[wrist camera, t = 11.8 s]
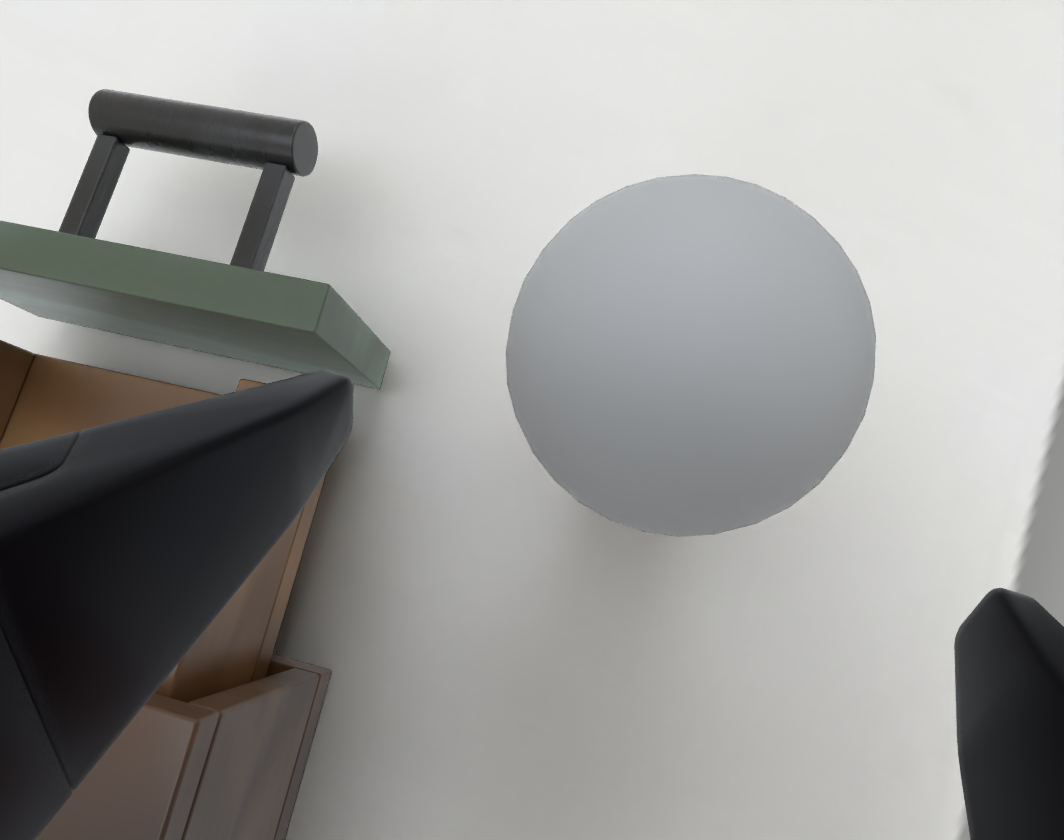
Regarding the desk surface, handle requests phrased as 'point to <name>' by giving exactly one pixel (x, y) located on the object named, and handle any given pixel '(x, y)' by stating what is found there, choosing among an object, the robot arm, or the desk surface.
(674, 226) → the lightbulb
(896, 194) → the desk surface
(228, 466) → the robot arm
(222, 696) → the drawer unit
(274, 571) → the drawer
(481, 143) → the desk surface
